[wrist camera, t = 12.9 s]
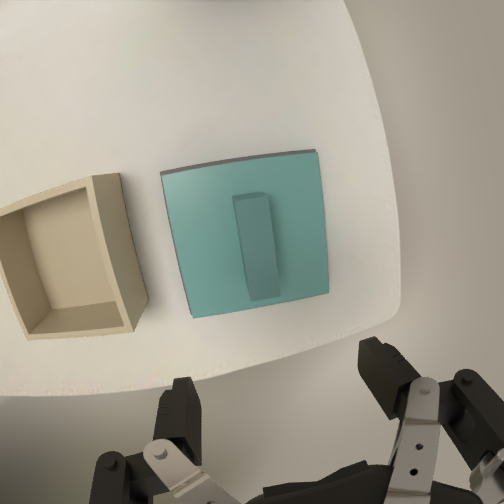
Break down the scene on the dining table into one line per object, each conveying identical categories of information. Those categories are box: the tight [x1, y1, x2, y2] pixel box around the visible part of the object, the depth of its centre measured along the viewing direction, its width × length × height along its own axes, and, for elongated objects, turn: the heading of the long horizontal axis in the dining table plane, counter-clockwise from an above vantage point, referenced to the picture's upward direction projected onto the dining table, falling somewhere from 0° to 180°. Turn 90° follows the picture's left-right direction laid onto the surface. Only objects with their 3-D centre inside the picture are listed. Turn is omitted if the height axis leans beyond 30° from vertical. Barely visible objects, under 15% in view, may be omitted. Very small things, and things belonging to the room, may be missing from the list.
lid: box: [162, 152, 329, 319], centre depth 30 cm, size 17×17×7 cm
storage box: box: [0, 173, 148, 340], centre depth 28 cm, size 16×16×8 cm
